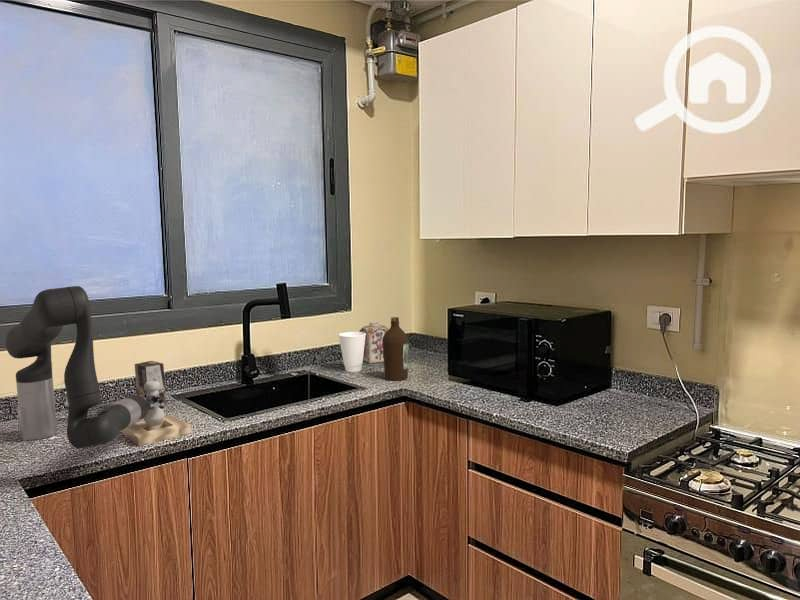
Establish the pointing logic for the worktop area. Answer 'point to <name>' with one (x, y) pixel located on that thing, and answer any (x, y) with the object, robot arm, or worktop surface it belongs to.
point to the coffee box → (149, 376)
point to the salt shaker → (155, 414)
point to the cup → (352, 350)
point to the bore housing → (157, 430)
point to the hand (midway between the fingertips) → (156, 395)
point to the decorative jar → (373, 342)
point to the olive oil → (395, 352)
